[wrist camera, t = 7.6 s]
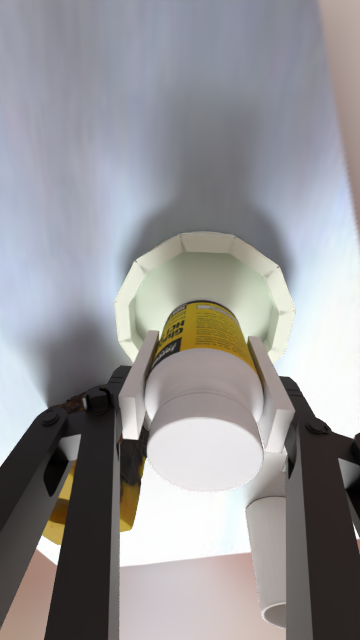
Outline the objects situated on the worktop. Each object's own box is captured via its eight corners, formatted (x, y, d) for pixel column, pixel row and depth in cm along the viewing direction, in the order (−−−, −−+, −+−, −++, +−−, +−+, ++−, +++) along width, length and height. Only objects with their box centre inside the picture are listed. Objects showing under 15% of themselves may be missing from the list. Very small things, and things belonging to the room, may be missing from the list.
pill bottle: (176, 285, 18) (146, 377, 7) (251, 309, 18) (319, 427, 8) (156, 350, 20) (115, 483, 10) (222, 369, 20) (245, 517, 10)
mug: (237, 500, 34) (251, 603, 25) (303, 490, 32) (344, 600, 23) (258, 537, 38) (276, 638, 29) (318, 530, 36) (357, 638, 27)
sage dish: (117, 228, 19) (105, 230, 17) (300, 234, 18) (316, 237, 16) (130, 372, 26) (122, 389, 23) (266, 381, 25) (273, 400, 22)
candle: (46, 407, 29) (-23, 494, 20) (107, 380, 26) (59, 465, 17) (95, 455, 33) (54, 548, 24) (154, 436, 30) (134, 532, 21)
